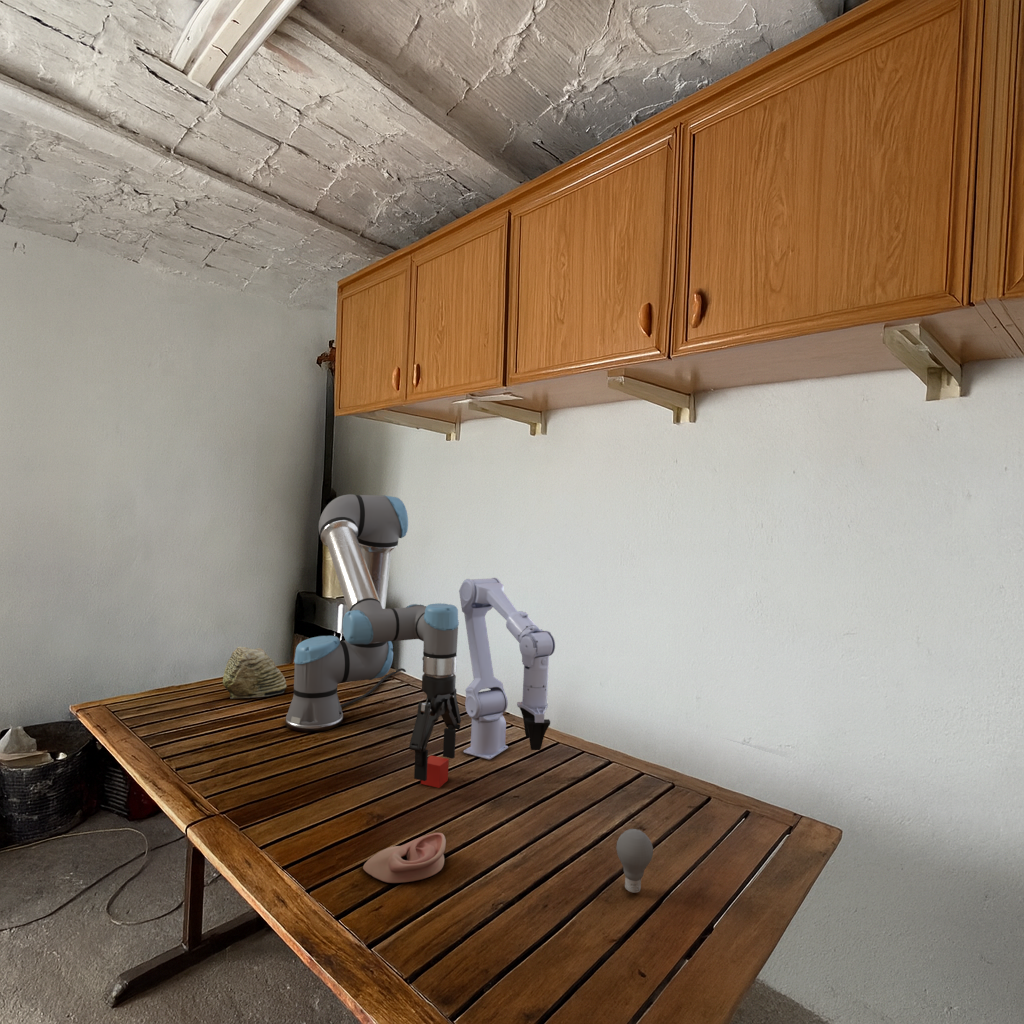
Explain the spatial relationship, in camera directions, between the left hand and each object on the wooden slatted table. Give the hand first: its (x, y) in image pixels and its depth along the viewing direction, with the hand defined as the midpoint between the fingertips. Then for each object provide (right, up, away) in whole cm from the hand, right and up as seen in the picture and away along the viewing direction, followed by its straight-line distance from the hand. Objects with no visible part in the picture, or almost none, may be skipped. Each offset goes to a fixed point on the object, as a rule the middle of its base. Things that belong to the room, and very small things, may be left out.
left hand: (435, 767), depth 143 cm
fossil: (-63, +1, +55) cm, 84 cm away
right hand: (+22, +4, +3) cm, 23 cm away
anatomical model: (-1, -4, -33) cm, 33 cm away
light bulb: (+37, -6, -37) cm, 53 cm away
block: (0, -3, 0) cm, 3 cm away
